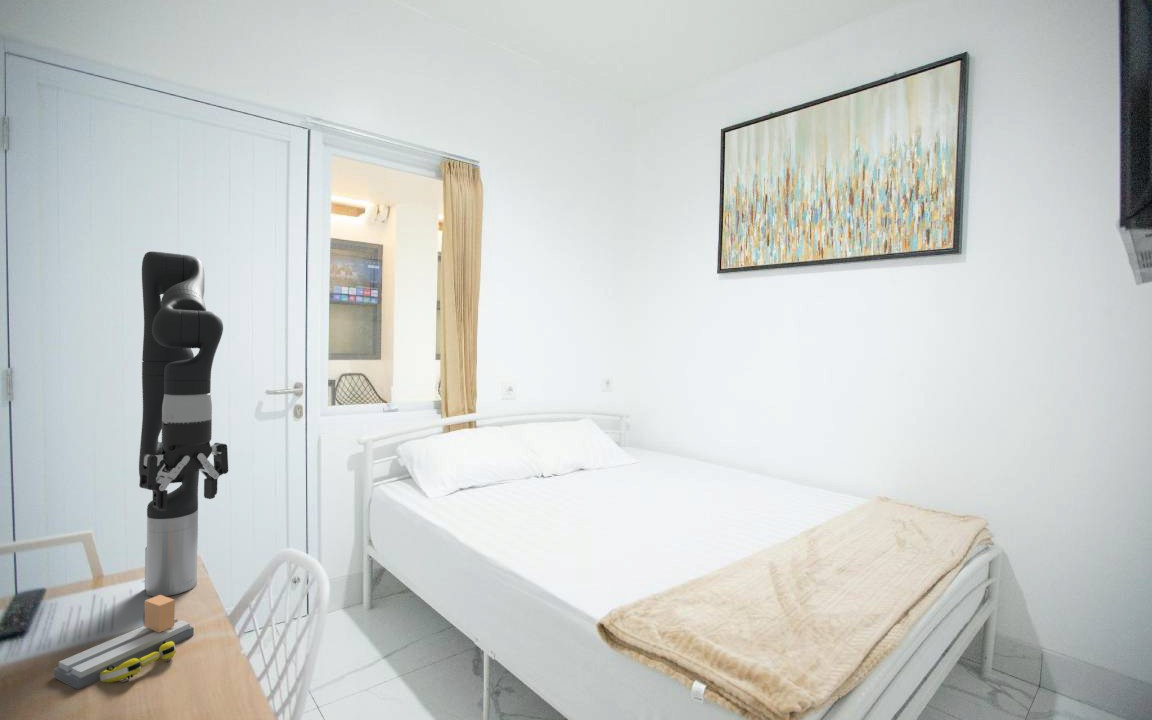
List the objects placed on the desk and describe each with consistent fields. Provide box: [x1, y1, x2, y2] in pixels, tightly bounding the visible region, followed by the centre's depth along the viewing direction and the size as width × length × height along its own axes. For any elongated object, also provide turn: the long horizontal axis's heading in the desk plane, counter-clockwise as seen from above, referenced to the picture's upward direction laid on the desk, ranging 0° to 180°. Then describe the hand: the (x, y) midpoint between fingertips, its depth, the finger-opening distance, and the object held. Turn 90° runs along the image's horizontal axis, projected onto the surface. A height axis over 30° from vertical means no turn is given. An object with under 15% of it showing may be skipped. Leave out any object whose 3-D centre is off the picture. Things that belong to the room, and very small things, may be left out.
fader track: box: [53, 617, 194, 690], centre depth 97 cm, size 18×7×3 cm, turn 157°
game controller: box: [99, 641, 177, 683], centre depth 93 cm, size 10×6×4 cm, turn 157°
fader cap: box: [144, 595, 176, 632], centre depth 101 cm, size 3×4×6 cm, turn 67°
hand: (186, 504), depth 101 cm, fingers open, 8 cm apart
